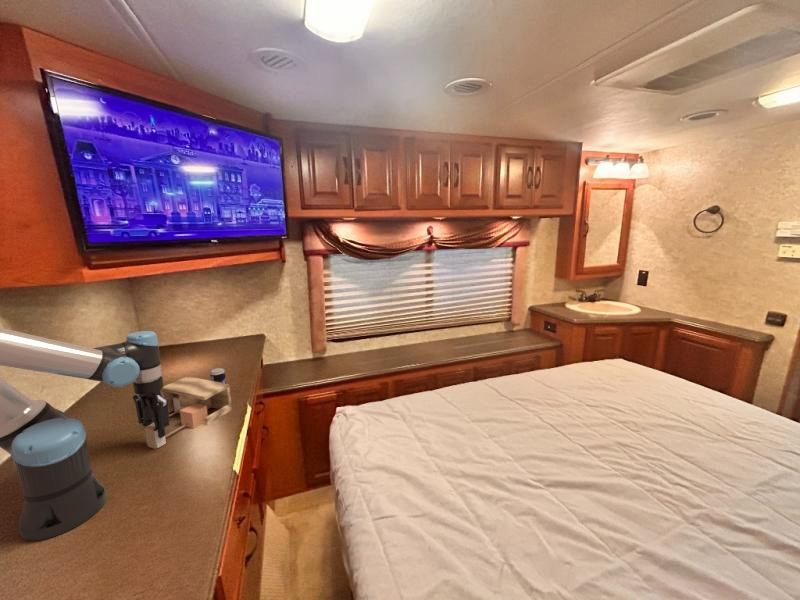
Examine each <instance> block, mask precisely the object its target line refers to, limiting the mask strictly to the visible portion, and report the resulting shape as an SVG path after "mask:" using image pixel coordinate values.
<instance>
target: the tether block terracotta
mask: <svg viewBox="0 0 800 600" xmlns="http://www.w3.org/2000/svg"><path fill="white" fill-rule="evenodd" d="M179 414H180V415H179V416H180V422H181V426H180V427H177V428H176V429H174V430H172V431H170V432H168V433H167V434H165V439H166V438H168V437H169V436H171V435H172V434H174V433H176V432H177V431H179V430H181V429H183V428H184V427H187V428H189V429H190V428H191V429H195V428H197V427H198V426H200V425H203V424H205V419H204V418H205V417H207V416H209V414H208V409H207V406H206V405H202V404H197V403H194V404H192V405H190V406H188V407H186V408H184V409H182V410H180V413H179ZM151 424H152V425H150V426H148V427H146V428H145V427H144V430H146V432H145V436H146V437H147V438H146V444H147V443H148V445H147V447H148V448H150V449H154V450H156V449H157V448H156V443H155V435H154V430H153V429H155V424H153V423H151Z"/></svg>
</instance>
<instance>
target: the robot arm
mask: <svg viewBox="0 0 800 600" xmlns="http://www.w3.org/2000/svg"><path fill="white" fill-rule="evenodd" d="M160 357H161V355H160V344H159V339H158V335H157V333H156V332H155V331H153V330H144V331H135V332H132V333H129V334H127V336H126V339H125V341H122V342H118V343H114V344H113V343H112V344H107V345H103V346H98V347H93V348H91V347H87V346H82V345H80V344H79V345H78V344H73V343H70V342H65V341H61V340H56V339H53V338H52V339H51V338H47V337H42V336H40V335H39V336H38V335H34V334H29V333H26V332H21V331H17V330H13V329H8V328H4V327H3V328H2V327H0V366H2V367H8V368H14V369H21V370H29V371H34V372H39V373H40V372H41V373H47V374H53V375H59V376H64V377H70V378H71V377H72V378H77V379H78V378H79V379H84V380H88V381H95V382H99V383H100V382H101V383H104V384H106V385H107V386H111V387H114V388H121V387H126V386H129V385H130V384H132V386H133V392H134V393H135V394H134V395H132V399H133V401H134V406H135V409H136V414H137V420H138V423H139V424H140V425H141V424H142V426H143V428H144V430H145V428H146V427H148V426H150V425H152V424H155V429H153V430H154V435H155V443H156V449H159V448H160V447H162V446H164V445H165V444H166V443H167V441H166V438H165V435H166V430H165V428H166V427H168V426H170V417H169V415H170V413H168V402H169V400H168V399H165V400H164V399H163V398H162V395H161V389H162V388H163V386H165V385H164V380H163V379H164V378H163V373H162V365H161V364H162V363H161V358H160ZM153 422H154V423H153ZM145 433H146V430H145ZM86 437H87V431H86V429H85V427H84V425H83V423H82V422H81V420H78V419H76V418H73V417H69V416H68V414H66V413H65V412H63V411H62V410H59V409H58V408H55V407H54V406H52V405H51V404H50V403H48V402H47V401H46V400H44V399H33V400H32V399H30V398H29V397H28V396H26V395H25V394H24V393H22V392H21V391H19V390H18V389H17V388H16V387H15V386H13V385H12V384H11V383H9V382H8V381H6V380H5V379H4V378H2V377H1V376H0V448H1V449H2V450H4V451H5V452H7V453H8V454H10V456H11V460H12V461H13V464H14V467H15V470H16V472H17V476H18V482H19V485H20V487H21V492H22V495H23V500H24V501H23V506H22V510H21V512H20V513H21V514H20V516H19V517H20V518H19V521H18V527H17V528H18V531H19V535H20V538H22V539H23V540H26V541H31V542H32V541H42V540H47V539H50V538H54V537H57V536H59V535H61V534H64V533H66V532H68V531H70V530H73V529H74V528H76V527H78V526H80V525H82V524H83V523H85V522H86V521H89V519H90V518H92V517H93V516H95V515H96V513H98V512H99V511H100V510H101V509H102V508H103V507H104V505H105V504H106V502H107V499H108V498H107V497H108V495H107V489H106V487H105V485H103V483H102V481H100V480H99V479H98V477H97V476H95V475H96V474H94V473H93V469H92V463H91V458H90V452H89V448H88V444H87V439H86ZM146 439H147V437H146ZM146 445H147V446H148V443H147V442H146Z"/></svg>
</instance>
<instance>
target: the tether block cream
mask: <svg viewBox="0 0 800 600" xmlns="http://www.w3.org/2000/svg"><path fill="white" fill-rule="evenodd" d="M173 403H174V411H173V413H172V412H171V413H169V418H170V417H172V416H174V415H177V414H180V410H181V408H180V400H179V396H176V397H174V398H173ZM153 423H154V422H153ZM153 423H152V424H153Z"/></svg>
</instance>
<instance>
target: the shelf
mask: <svg viewBox="0 0 800 600" xmlns="http://www.w3.org/2000/svg"><path fill="white" fill-rule="evenodd" d="M160 392H161V395H162V398H163V399H164V400H165V399H168V400H169V402H168V414H171V413H172V412H175V410H174V403H173V398H174V397H176V396H179V400H180V408H181V410H182V409H184V408H186V407H188V406H190V405H192V404H194V403H197V404H202V405H206V406H207V410H209V409H210V408H214V409H218V410H215V411H214V412H212V413H211V414H208V416H207V417H205V418H204V419H205V422H204V424H205V425H210V424H211V423H213V422H215V421H216V420H217V419H219V418H221V417H223V416H225V415H226V414H227V413H229V412H231V411H232V410H233V406H232V398H231V396H232V395H231V386H230V384H229V383H226V384H225V383H220V382H215V381H211V379H210V380H209V379H204V378H199V377H192V376H185V377H182V378H180V379H178V380H176V381H173V382H171V383H169V384H166V385H164V386H163V388H162V389H161V390H160Z"/></svg>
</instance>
